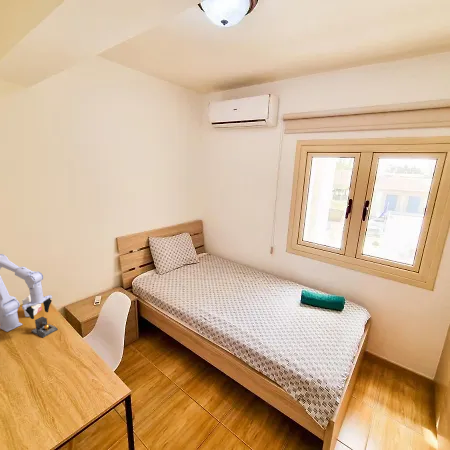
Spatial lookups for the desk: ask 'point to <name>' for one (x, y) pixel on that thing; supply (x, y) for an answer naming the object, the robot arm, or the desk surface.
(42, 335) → the frame
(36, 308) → the ink cartridge box
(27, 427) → the desk surface
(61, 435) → the desk surface
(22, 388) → the desk surface
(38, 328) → the link
